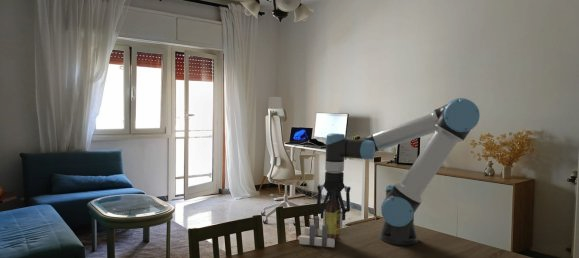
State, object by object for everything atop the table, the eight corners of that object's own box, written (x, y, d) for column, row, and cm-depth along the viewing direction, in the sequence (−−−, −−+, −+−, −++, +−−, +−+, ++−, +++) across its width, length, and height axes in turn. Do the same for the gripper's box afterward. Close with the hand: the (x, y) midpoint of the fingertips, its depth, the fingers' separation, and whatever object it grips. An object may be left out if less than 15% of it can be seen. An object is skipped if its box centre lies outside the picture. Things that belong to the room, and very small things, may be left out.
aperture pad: (317, 236, 168) (317, 235, 168) (315, 243, 160) (315, 241, 160) (299, 235, 169) (299, 233, 169) (295, 241, 162) (295, 239, 161)
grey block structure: (337, 236, 169) (337, 218, 168) (334, 247, 156) (334, 227, 155) (305, 233, 172) (305, 215, 171) (299, 244, 158) (299, 224, 158)
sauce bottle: (339, 239, 159) (341, 190, 157) (323, 238, 160) (325, 189, 159) (340, 234, 165) (342, 187, 164) (325, 233, 166) (327, 186, 165)
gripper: (358, 171, 163) (356, 226, 164) (312, 168, 166) (310, 222, 168) (357, 174, 155) (355, 232, 157) (309, 171, 159) (308, 227, 160)
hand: (332, 227), depth 162 cm, fingers closed on sauce bottle, 6 cm apart
